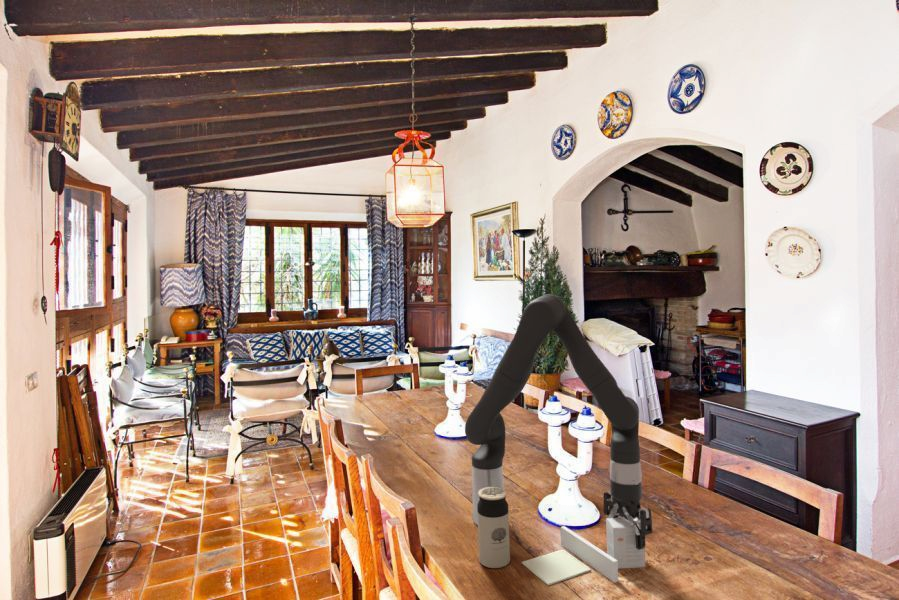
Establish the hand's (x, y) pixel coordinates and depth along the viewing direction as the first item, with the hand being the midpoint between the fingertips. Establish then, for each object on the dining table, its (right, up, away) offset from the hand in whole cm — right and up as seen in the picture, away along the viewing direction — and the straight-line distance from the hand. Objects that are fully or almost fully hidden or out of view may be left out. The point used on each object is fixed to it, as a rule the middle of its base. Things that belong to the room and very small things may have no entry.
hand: (627, 541), depth 130 cm
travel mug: (-33, -7, +3) cm, 34 cm away
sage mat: (-18, -6, -1) cm, 19 cm away
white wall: (-10, -6, +1) cm, 11 cm away
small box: (0, -6, +1) cm, 6 cm away
